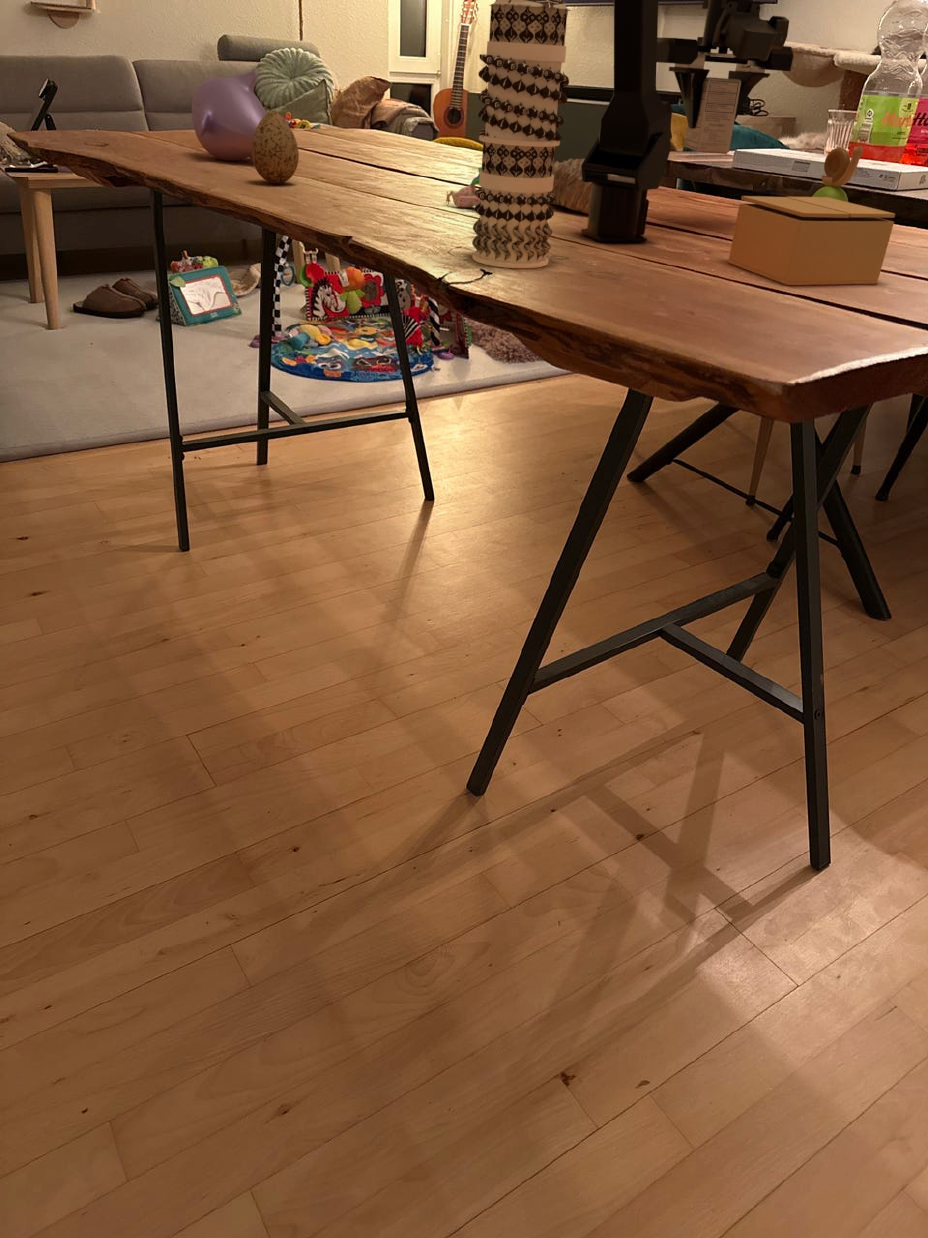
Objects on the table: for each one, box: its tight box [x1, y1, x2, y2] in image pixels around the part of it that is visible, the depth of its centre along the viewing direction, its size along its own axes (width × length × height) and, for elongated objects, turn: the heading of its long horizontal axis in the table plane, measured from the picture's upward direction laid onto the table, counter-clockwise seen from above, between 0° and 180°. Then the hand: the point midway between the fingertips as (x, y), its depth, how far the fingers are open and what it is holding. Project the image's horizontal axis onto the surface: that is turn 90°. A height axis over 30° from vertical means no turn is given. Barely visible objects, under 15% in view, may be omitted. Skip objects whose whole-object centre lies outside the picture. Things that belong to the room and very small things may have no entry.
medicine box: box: [684, 76, 741, 155], centre depth 125 cm, size 8×4×9 cm, turn 1°
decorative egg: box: [251, 110, 300, 185], centre depth 143 cm, size 7×7×10 cm
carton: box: [728, 196, 896, 286], centre depth 104 cm, size 12×12×7 cm
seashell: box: [551, 157, 620, 215], centre depth 137 cm, size 14×9×10 cm
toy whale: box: [191, 70, 289, 162], centre depth 163 cm, size 14×25×16 cm, turn 46°
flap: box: [741, 195, 849, 218], centre depth 102 cm, size 6×12×1 cm, turn 18°
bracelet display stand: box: [471, 0, 572, 269], centre depth 97 cm, size 9×9×25 cm
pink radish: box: [445, 166, 482, 209], centre depth 131 cm, size 6×6×15 cm
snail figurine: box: [811, 137, 868, 202], centre depth 136 cm, size 5×6×12 cm
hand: (709, 129), depth 126 cm, fingers closed on medicine box, 5 cm apart
